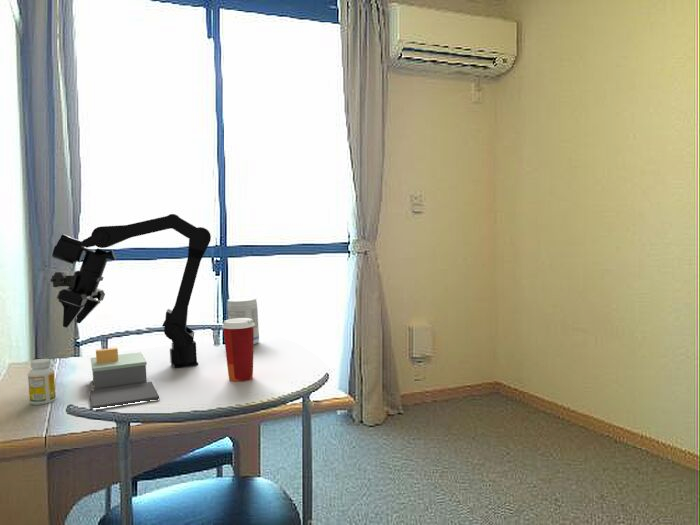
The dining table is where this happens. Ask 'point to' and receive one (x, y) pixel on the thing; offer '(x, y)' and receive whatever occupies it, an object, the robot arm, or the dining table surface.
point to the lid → (115, 360)
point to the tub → (119, 377)
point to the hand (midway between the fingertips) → (71, 324)
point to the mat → (123, 394)
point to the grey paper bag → (244, 312)
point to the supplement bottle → (41, 382)
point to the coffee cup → (239, 348)
